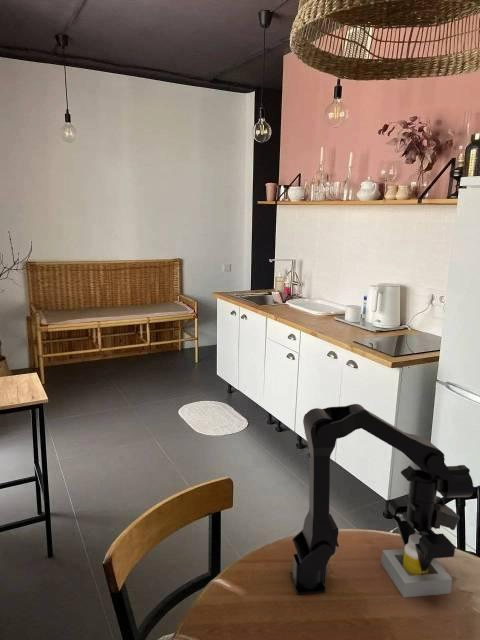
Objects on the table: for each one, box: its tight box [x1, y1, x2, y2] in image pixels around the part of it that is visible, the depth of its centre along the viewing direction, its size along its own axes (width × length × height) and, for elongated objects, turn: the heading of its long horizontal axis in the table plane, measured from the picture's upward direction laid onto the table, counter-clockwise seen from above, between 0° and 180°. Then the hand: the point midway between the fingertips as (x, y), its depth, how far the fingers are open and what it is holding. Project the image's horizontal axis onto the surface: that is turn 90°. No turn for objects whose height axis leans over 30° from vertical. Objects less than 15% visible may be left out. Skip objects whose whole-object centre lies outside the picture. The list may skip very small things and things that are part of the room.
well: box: [380, 548, 453, 599], centre depth 107 cm, size 11×11×4 cm
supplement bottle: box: [403, 533, 428, 576], centre depth 106 cm, size 5×5×10 cm
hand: (415, 560), depth 106 cm, fingers open, 6 cm apart
